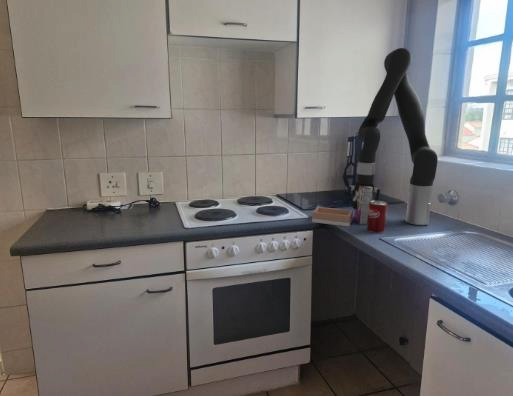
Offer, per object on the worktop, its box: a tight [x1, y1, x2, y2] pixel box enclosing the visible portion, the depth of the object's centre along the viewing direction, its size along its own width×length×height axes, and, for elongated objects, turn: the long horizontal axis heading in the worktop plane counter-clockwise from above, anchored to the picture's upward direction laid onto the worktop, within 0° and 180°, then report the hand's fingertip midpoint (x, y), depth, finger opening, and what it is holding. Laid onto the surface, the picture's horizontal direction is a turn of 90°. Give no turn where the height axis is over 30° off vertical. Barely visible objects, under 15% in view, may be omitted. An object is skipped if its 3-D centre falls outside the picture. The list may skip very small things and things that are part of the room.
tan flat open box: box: [311, 206, 354, 227], centre depth 169 cm, size 16×10×4 cm, turn 69°
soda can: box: [366, 200, 388, 234], centre depth 156 cm, size 7×7×12 cm
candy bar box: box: [353, 185, 374, 225], centre depth 169 cm, size 11×5×16 cm, turn 179°
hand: (362, 209), depth 170 cm, fingers closed on candy bar box, 6 cm apart
